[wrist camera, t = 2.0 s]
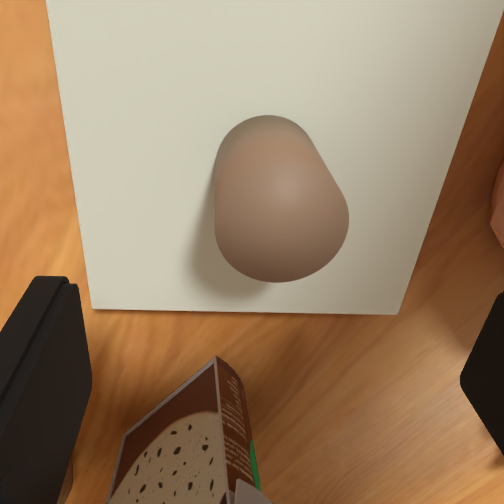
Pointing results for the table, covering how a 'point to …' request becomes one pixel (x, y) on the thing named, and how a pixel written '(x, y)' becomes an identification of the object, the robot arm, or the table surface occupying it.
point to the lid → (262, 145)
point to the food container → (191, 447)
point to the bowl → (498, 206)
